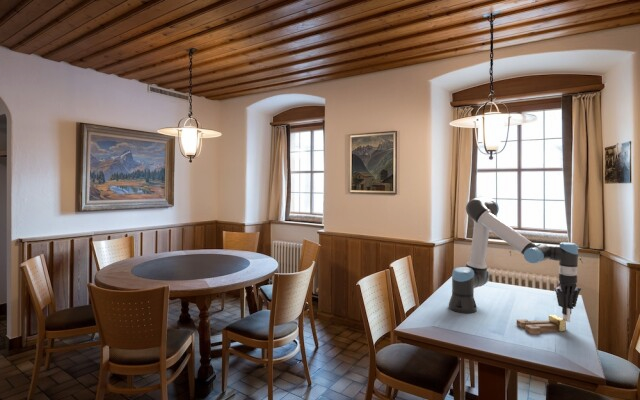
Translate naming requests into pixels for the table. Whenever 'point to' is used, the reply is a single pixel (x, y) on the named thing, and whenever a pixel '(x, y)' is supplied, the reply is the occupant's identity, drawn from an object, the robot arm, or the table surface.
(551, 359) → the table surface
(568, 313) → the robot arm
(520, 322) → the tongs moving arm
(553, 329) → the tongs fixed arm
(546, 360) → the table surface
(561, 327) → the lock collar
